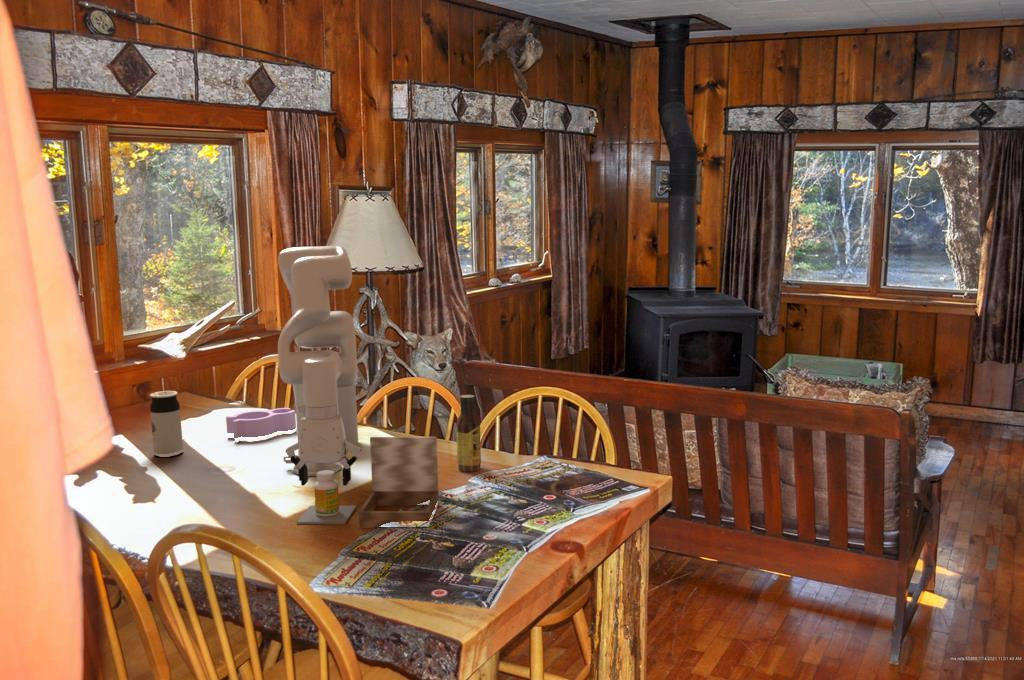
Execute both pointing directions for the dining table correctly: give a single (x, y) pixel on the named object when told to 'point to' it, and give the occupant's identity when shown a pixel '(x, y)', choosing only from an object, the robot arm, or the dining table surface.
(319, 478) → the supplement bottle
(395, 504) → the open wooden keepsake box
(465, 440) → the sauce bottle
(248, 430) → the lilac molded tray
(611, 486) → the dining table surface
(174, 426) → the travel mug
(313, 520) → the slate mat
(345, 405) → the cylinder vase
